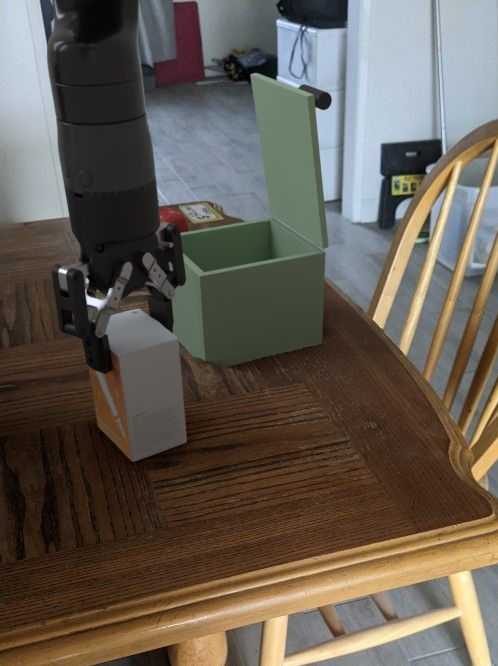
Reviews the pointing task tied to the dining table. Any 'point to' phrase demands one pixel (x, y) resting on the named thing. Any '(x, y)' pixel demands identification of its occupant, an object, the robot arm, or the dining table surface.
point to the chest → (248, 292)
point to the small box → (140, 387)
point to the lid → (292, 154)
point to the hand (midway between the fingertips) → (133, 351)
